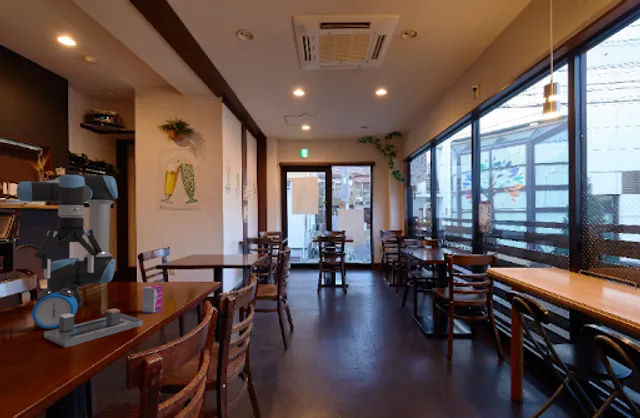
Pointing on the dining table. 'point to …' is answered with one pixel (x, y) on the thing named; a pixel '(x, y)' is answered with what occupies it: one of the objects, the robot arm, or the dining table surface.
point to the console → (91, 330)
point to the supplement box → (152, 299)
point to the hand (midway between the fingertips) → (69, 275)
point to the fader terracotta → (112, 316)
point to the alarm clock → (53, 307)
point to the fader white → (66, 322)
